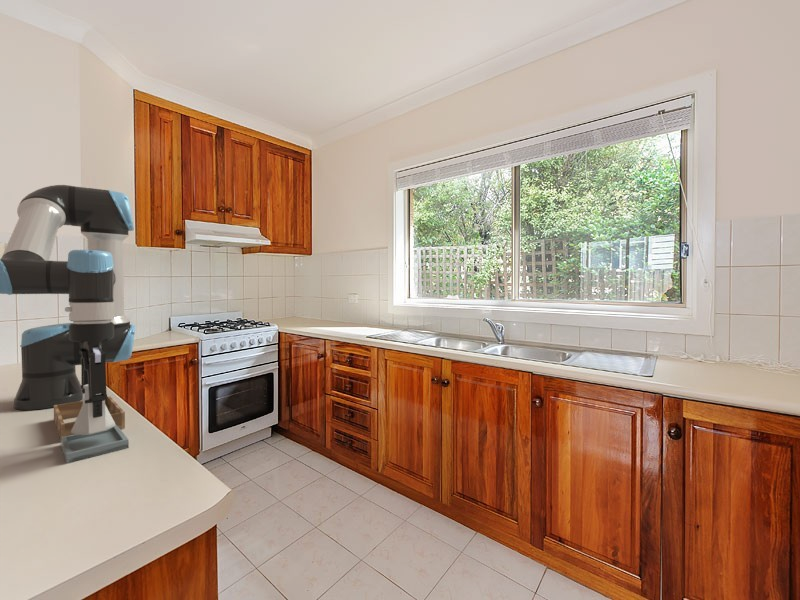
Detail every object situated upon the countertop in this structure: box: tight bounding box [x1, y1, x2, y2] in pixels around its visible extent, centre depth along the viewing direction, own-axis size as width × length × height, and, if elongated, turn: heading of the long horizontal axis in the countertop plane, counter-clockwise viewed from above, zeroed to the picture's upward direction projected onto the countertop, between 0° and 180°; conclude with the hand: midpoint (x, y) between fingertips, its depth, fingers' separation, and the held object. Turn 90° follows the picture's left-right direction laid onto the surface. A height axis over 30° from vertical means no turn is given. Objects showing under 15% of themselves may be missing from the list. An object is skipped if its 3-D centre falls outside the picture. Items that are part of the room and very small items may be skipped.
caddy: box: [53, 395, 126, 440], centre depth 93 cm, size 19×12×4 cm, turn 47°
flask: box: [71, 384, 116, 435], centre depth 80 cm, size 7×7×10 cm
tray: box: [60, 425, 129, 464], centre depth 81 cm, size 12×10×2 cm
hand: (94, 426), depth 80 cm, fingers closed on flask, 7 cm apart
